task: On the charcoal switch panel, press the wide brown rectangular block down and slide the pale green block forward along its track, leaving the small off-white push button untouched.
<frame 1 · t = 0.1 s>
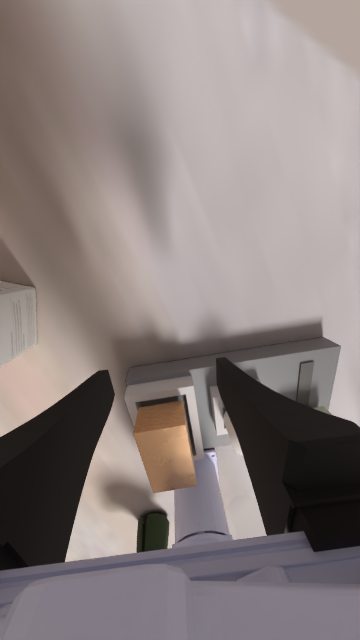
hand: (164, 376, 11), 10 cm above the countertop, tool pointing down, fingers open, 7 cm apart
switch panel: (229, 393, 25), on the countertop
supplement box: (4, 309, 19), on the countertop
off-white button: (247, 428, 19), point 6 cm above the countertop, slide at 0.0 cm
brown rectangular block: (168, 447, 19), point 6 cm above the countertop, slide at 0.0 cm
pale green block: (311, 427, 22), point 4 cm above the countertop, slide at 0.0 cm
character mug: (154, 516, 35), on the countertop
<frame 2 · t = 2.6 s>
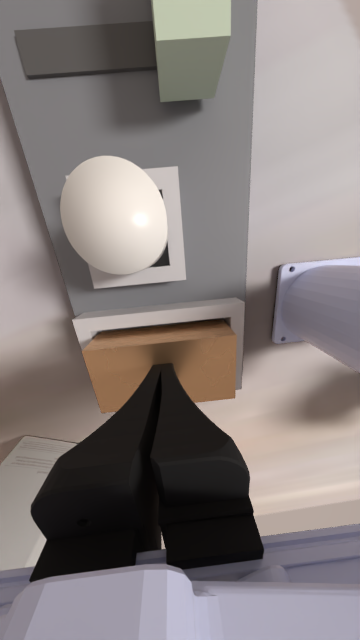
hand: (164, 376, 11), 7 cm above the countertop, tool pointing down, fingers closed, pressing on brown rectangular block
switch panel: (154, 239, 14), on the countertop
supplement box: (54, 456, 23), on the countertop
off-white button: (124, 227, 9), point 6 cm above the countertop, slide at 0.0 cm
brown rectangular block: (165, 363, 13), point 5 cm above the countertop, slide at 1.1 cm, touching gripper
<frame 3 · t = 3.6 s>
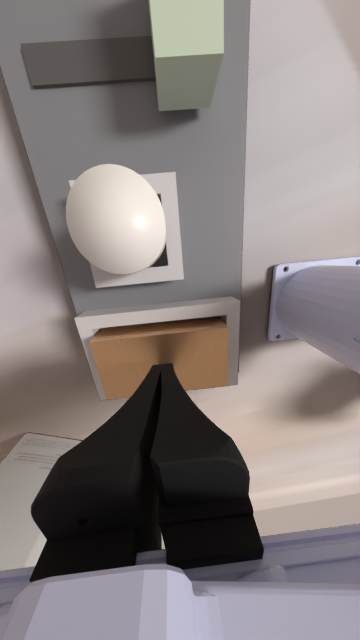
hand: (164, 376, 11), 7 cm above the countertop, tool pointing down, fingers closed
switch panel: (153, 240, 15), on the countertop
supplement box: (55, 453, 23), on the countertop
off-white button: (124, 229, 9), point 6 cm above the countertop, slide at 0.0 cm
brown rectangular block: (164, 354, 14), point 4 cm above the countertop, slide at 1.9 cm
pale green block: (182, 10, 8), point 4 cm above the countertop, slide at 0.0 cm
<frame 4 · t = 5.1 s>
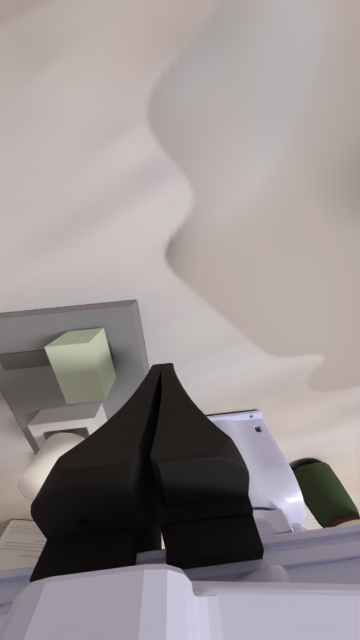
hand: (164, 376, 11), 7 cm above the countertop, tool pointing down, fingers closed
switch panel: (98, 408, 21), on the countertop
supplement box: (35, 530, 29), on the countertop
off-white button: (59, 466, 15), point 6 cm above the countertop, slide at 0.0 cm
pale green block: (85, 364, 14), point 4 cm above the countertop, slide at 0.0 cm
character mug: (306, 468, 27), on the countertop
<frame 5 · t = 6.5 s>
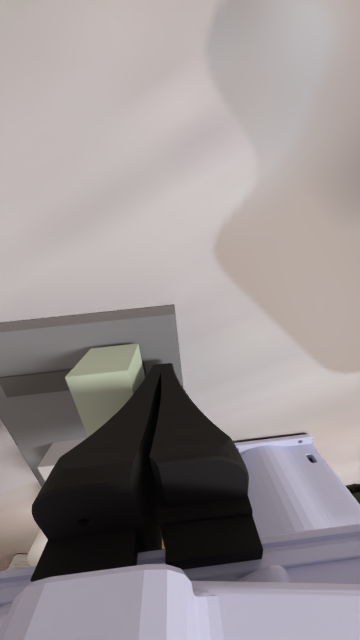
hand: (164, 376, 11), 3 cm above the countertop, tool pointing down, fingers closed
switch panel: (119, 434, 17), on the countertop
off-white button: (79, 523, 12), point 6 cm above the countertop, slide at 0.0 cm
brown rectangular block: (126, 543, 16), point 4 cm above the countertop, slide at 1.9 cm
pale green block: (116, 393, 10), point 4 cm above the countertop, slide at 0.0 cm, touching gripper
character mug: (351, 494, 24), on the countertop
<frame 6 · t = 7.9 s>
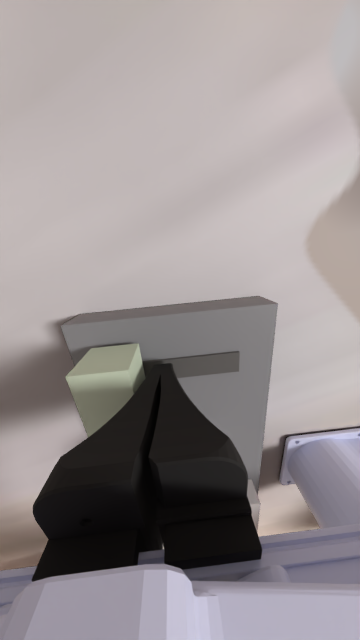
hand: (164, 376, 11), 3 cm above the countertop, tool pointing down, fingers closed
switch panel: (184, 426, 18), on the countertop
pale green block: (116, 393, 10), point 5 cm above the countertop, slide at 6.7 cm, touching gripper
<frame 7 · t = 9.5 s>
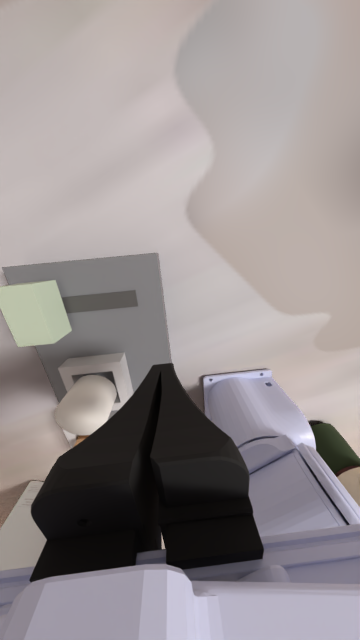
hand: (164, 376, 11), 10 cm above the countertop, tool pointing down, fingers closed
switch panel: (117, 365, 22), on the countertop
supplement box: (52, 493, 30), on the countertop
off-white button: (88, 403, 16), point 6 cm above the countertop, slide at 0.0 cm
brown rectangular block: (123, 446, 21), point 4 cm above the countertop, slide at 1.9 cm
pale green block: (37, 312, 15), point 4 cm above the countertop, slide at 6.8 cm
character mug: (311, 431, 29), on the countertop
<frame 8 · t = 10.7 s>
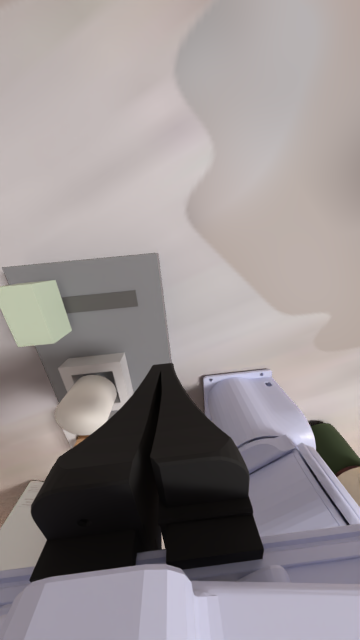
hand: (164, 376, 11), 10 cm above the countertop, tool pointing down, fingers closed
switch panel: (117, 365, 22), on the countertop
supplement box: (52, 493, 30), on the countertop
off-white button: (88, 403, 16), point 6 cm above the countertop, slide at 0.0 cm
brown rectangular block: (123, 446, 21), point 4 cm above the countertop, slide at 1.9 cm
pale green block: (37, 312, 15), point 5 cm above the countertop, slide at 6.8 cm
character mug: (311, 431, 29), on the countertop
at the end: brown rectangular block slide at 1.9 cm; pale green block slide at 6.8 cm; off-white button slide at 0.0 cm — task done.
